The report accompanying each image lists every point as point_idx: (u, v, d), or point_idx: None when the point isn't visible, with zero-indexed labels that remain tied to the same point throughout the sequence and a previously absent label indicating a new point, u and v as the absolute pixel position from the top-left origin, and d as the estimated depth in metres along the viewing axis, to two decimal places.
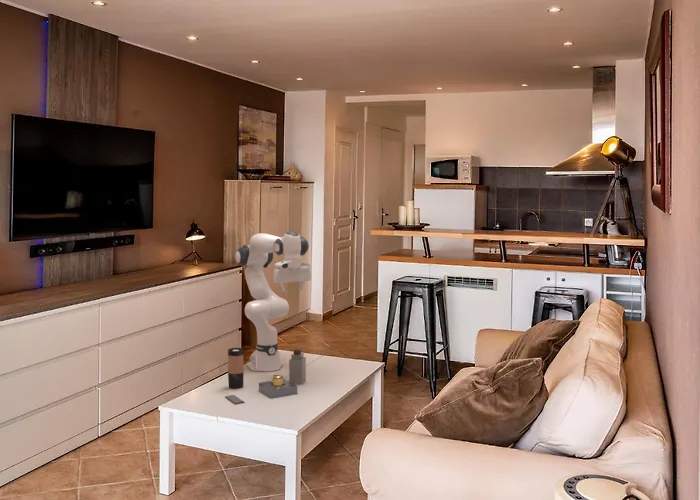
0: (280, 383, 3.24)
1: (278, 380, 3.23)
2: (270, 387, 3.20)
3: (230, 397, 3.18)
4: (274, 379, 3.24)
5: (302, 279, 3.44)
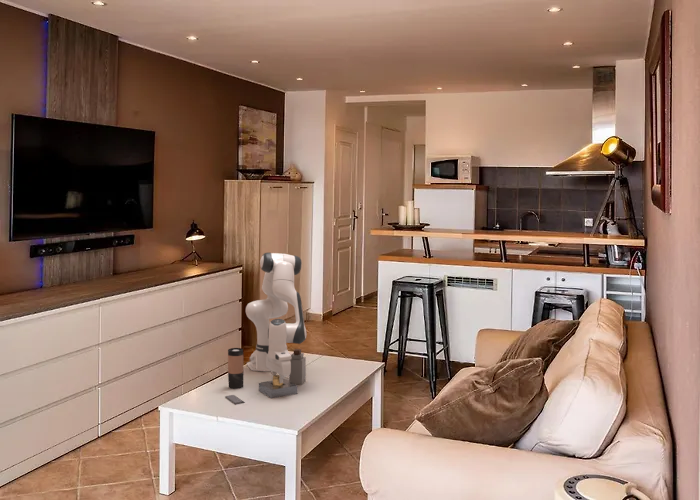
0: (280, 383, 3.24)
1: (278, 380, 3.23)
2: (270, 387, 3.20)
3: (230, 397, 3.18)
4: (274, 379, 3.24)
5: None
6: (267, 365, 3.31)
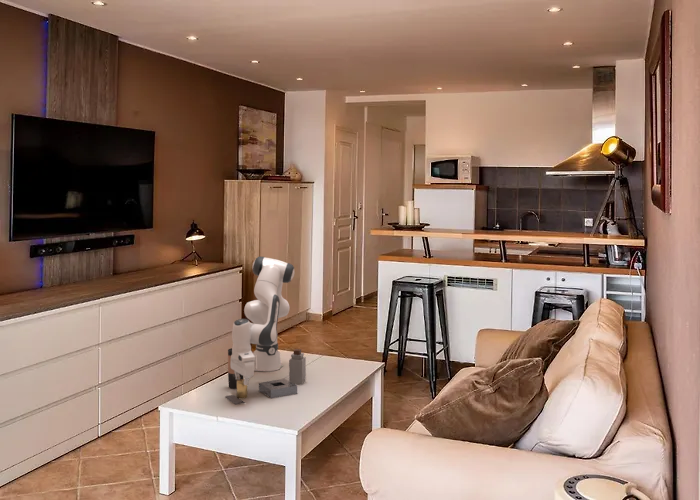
0: (244, 388, 3.16)
1: (242, 384, 3.16)
2: (270, 387, 3.20)
3: (230, 397, 3.18)
4: (238, 383, 3.16)
5: None
6: (231, 366, 3.23)
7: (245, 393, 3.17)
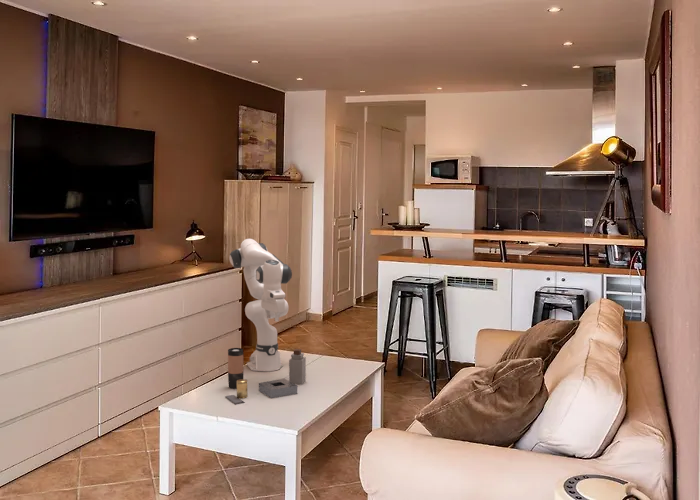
0: (244, 388, 3.16)
1: (242, 385, 3.16)
2: (270, 387, 3.20)
3: (230, 397, 3.18)
4: (238, 384, 3.16)
5: None
6: (262, 305, 3.43)
7: (245, 393, 3.17)
